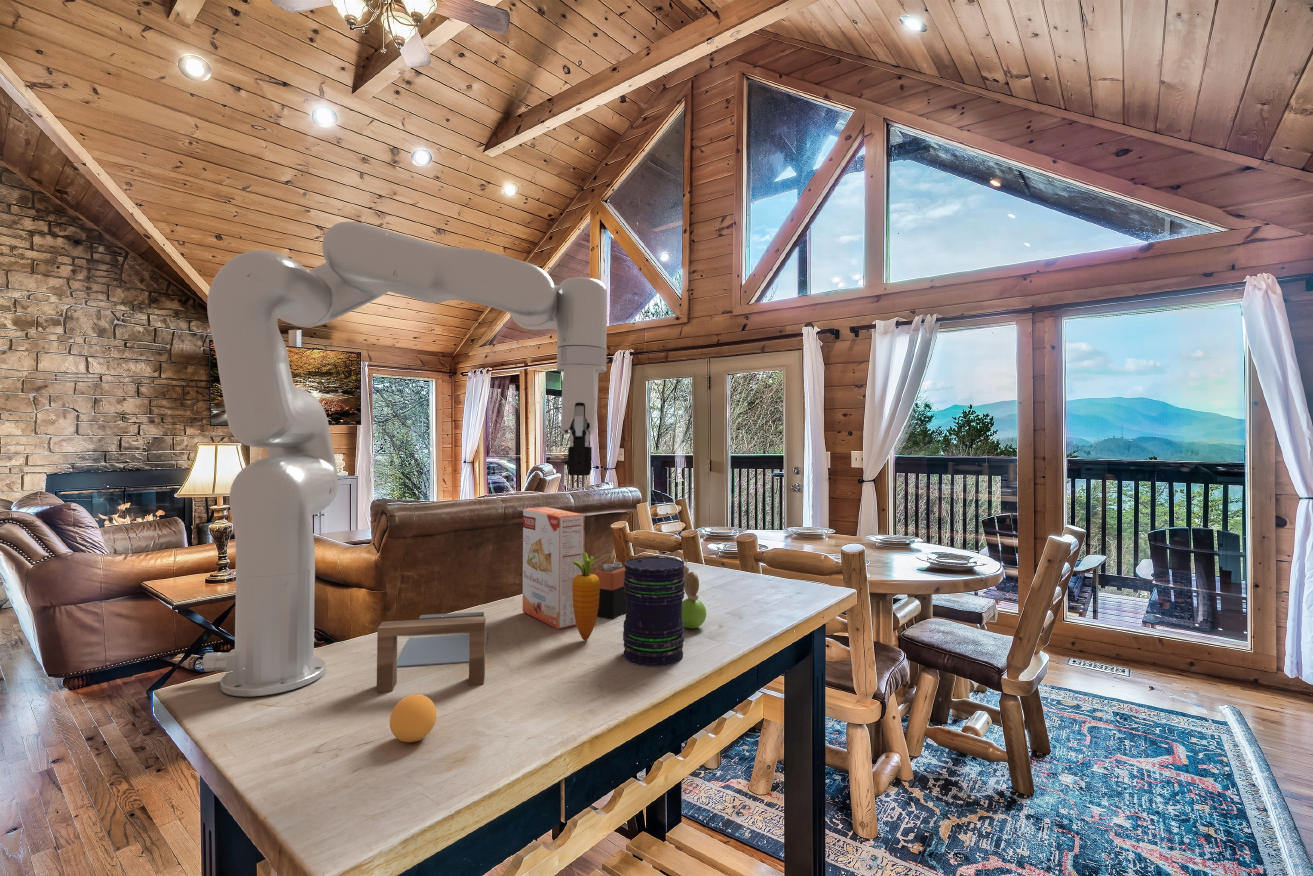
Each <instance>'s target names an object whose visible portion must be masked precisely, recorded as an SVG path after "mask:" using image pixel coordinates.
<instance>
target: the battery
mask: <svg viewBox="0 0 1313 876" xmlns="http://www.w3.org/2000/svg"><path fill="white" fill-rule="evenodd" d="M625 570H626V569H625V565H622V562H619V561H615V562H614V563H613V564H612V563H608V564H607V563H606V564H605V563H604V564H603V566H602V567H601V568H597V569H596V570H595V572H594V575H596V576H597V577H598V578H599V581H600V594H599V607H598V613H597V617H598V618H605V619H609V620H614V618H617V617H619V616H621V615H624V614H626V599H625V597H624V578H625Z"/></svg>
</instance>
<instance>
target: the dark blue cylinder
mask: <svg viewBox="0 0 1313 876" xmlns="http://www.w3.org/2000/svg"><path fill="white" fill-rule="evenodd" d="M624 566H625V569H626V570H625V578H624V597H625V599H626V613H624V614H625V620H624V621H623V626H622V627H623V632H622V641H623V648H624V649H623V658H624V660H626V661H627V662H628V663H630V664H633V665H636V666H642V667H649V668H652V667H653V668H655V667H657V668H658V667H666V666H672V665H675V664H678V663H679V662H681V661H682V660H683V658H684V650H683V648H684V642H685V632H684V630H685V626H684V622H683V621H682V601H684V598H685V595H686V593H685V590H684V587H685V579H684V571H683V570H684V566H685V562H683V561H682V559H677V558H671V557H662V556H648V557H647V556H644V557H634V558H631V559H627V560H625V561H624Z"/></svg>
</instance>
